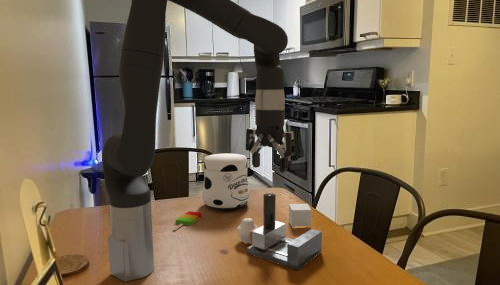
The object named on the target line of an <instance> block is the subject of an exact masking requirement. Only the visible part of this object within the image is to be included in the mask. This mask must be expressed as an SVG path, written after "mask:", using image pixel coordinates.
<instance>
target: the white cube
mask: <svg viewBox="0 0 500 285" xmlns="http://www.w3.org/2000/svg"><path fill="white" fill-rule="evenodd" d="M289 221H290V223H289V225H290V224H291V226H292V227H295V226H311V227H312V208H311V207H310V205H309V204H308V203H289V204H288V222H289ZM291 226H290V227H291Z"/></svg>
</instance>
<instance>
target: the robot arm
mask: <svg viewBox="0 0 500 285" xmlns="http://www.w3.org/2000/svg"><path fill="white" fill-rule="evenodd" d="M168 2H171V3H173V4H176V5H177V6H181V7H182V8H184V9H187V11H190V12H191V13H193V14H196V15H198V16H199V17H201V18H203V19H204V20H207V21H208V22H210V23H211V24H212V25H214V26H216V27H218V28H220V29H221V30H223V31H224V32H226V33H228V34H229V35H231V36H233V37H234V38H236V39H240V40H246V41H247V42H249V43H251V44H253V56H254V62H255V68H256V81H255V82H256V84H255V85H256V86H255V91H256V93H255V99H254V105H255V106H254V107H255V109H254V111H255V112H254V113H255V114H254V115H255V117H254V118H255V122H254V124H255V126H256V128H255V127H251V128H247V129H246V130H245V132H246V133H245V150H246V152H247V151H249V152H250V153H251V164H252V166H253V168H256V169H257V168H259V167H260V166H261V150H262V149H263V147H268V148H271V149H272V148H274V150H275V151H276V152H277V153H278V154H279V156H280V157H279V172H280V173H285V172H287V170H288V169H289V158H290V157H291V156H295V155H296V154H297V153H296V152H297V151H296V133H295V131H285V129H284V126H285V123H286V122H285V114H286V111H285V108H286V107H285V106H286V105H285V103H286V101H285V100H286V98H285V90H284V89H285V73H284V69H283V67H282V66H281V59H280V54H282V52H284V51H285V50H286V48H287V47H288V43H289V37H288V34H287V32H286V31H285V29H284V28H282V27H281V26H280V25H278V23H275V22H273V21H272V20H269V19H267V18H264V17H262V16H260V15H258V14H255V13H253V12H251V11H250V10H249V9H247V8H246V7H244V6H243V5H241V4H239V3H238V2H236V1H234V0H131V4H130V10H129V13H128V18H127V21H126V27H125V29H124V36H123V40H122V46H121V51H120V61H119V68H118V69H119V71H118V77H119V84H120V89H121V93H122V98H123V104H124V106H123V107H124V118H123V123H122V131H121V132H116V133H114V134H112V135H111V136H109V137H108V138H107V139H106V141H105V142H104V145H103V148H102V157H101V158H102V170H103V178H104V188H105V191H106V194H107V195H108V201H109V214H110V217H109V218H110V231H111V233H110V234H109V235H108V237H107V242H108V244H107V246H108V256H109V257H108V258H109V272H110V273H109V274H110V275H111V276H114V277H115V278H116V279H119V280H121V281H122V282H125V283H126V282H129V281H132V280H138V279H143V278H145V277H147V276H149V275H150V274H152V273H153V271H154V270H155V261H154V259H155V258H154V236H153V219H152V218H153V217H152V197H151V196H152V195H151V194H152V192H151V189H150V187H149V186H148V185H147V183H146V181H145V178H144V174H146V173H147V172H148V171H149V170H150V169H151V167H152V165H153V163H154V160H155V155H156V129H157V128H156V126H157V110H158V103H159V95H160V88H161V87H160V86H161V80H162V74H163V68H164V67H163V66H164V59H165V47H166V16H167V15H166V14H167V13H166V12H167V6H168ZM256 137H257V139H256ZM284 140H285V142H284Z"/></svg>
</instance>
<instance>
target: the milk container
mask: <svg viewBox="0 0 500 285" xmlns="http://www.w3.org/2000/svg"><path fill="white" fill-rule="evenodd" d="M203 167H204V168H203V175H204V177H203V178H204V179H203V186H202V190H201V191H202V192H201V197H202V202H203V203H204V205H205V206H206V207H208V208H211V209H213V210H214V209H215V210H220V211H221V210H222V211H225V210H236V209H239V208H242V207H244V206H246V205H247V204H248V203H249V201H250V195H251V194H250V193H251V190H250V186H249V182H248V159H247V156H246V155H244V154H241V153H240V154H239V153H227V152H226V153H214V154H210V155H209V154H208V155H206V156H204V160H203Z"/></svg>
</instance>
